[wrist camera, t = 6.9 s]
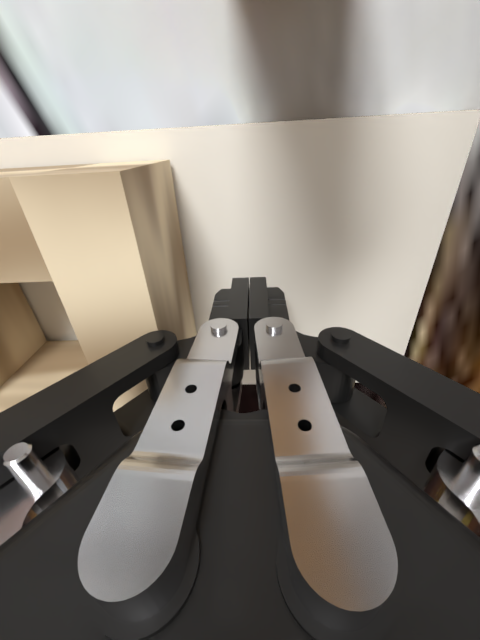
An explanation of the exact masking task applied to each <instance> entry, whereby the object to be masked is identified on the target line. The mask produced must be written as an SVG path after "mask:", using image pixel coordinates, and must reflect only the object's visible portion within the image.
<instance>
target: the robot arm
mask: <svg viewBox="0 0 480 640" xmlns="http://www.w3.org/2000/svg"><path fill="white" fill-rule="evenodd" d="M250 362H251V370H255V371H256V391H257V399H258V408H259V411H255V412H250V413H238V412H239V405H240V398H241V392H242V378H243V373H244V370H249V366H250ZM143 380H145V381H146V384H147V387H148V389H147V390H145V391H144V392H142V393H141V394H139V395H138V396H136V397H135V398H133V399H132V400H131V401H129V402H128V403H126V404H125V405H123V406H122V407H120V408H119V409H117V410H116V411H115V412H113V405H114V402H115V401H116V399H117V398H118V397H119V396H121V395H122V394H123V393H125V392H126V391H128V390H130V389H131V388H133V387H134V386H136V385H137V384H139V383H140V382H142V381H143ZM355 380H356V381H358V382H359V383H361V384H362V385H364V386H365V387H367V388H369V389H370V390H372V391H373V392H375V393H376V394H378V395H379V396H380V397H381V398H382V399H383V400H384V401H385V403H386V406H387V409H386V408H385V407H383V406H382V405H380V404H379V403H377V402H376V401H374V400H373V399H371V398H370V397H368V396H367V395H365V394H363V393H362V392H360V391H359V390H357V389H356V388H354V385H355ZM0 640H480V394H479V393H477V392H475V391H473V390H471V389H469V388H467V387H465V386H463V385H461V384H459V383H457V382H455V381H453V380H451V379H449V378H447V377H445V376H443V375H441V374H439V373H437V372H435V371H433V370H431V369H429V368H427V367H425V366H423V365H421V364H419V363H417V362H415V361H413V360H411V359H409V358H407V357H405V356H403V355H401V354H399V353H397V352H395V351H393V350H391V349H389V348H387V347H385V346H383V345H381V344H379V343H377V342H375V341H373V340H371V339H369V338H367V337H365V336H363V335H361V334H359V333H357V332H355V331H353V330H350V329H347V328H342V327H330V328H326V329H324V330H322V331H321V332H320V333H319V335H318V337H314V336H308V335H304V334H301V333H299V332H297V331H296V330H295V327H294V325H293V324H292V322H290V320H289V315H288V310H287V305H286V300H285V295H284V292H283V291H282V290H281V289H280V288H278V287H267V283H266V277H250V288H249V277H245V278H232V285H231V289H221V290H219V291H218V292H217V293H216V294H215V297H214V302H213V305H212V309H211V313H210V317H209V321H207V322H205V323H204V324H202V325H201V327H200V328H199V331H198V333H197V335H196V336H194V337H191V338H187V339H182V340H178V341H177V337H176V335H175V334H174V333H173V332H171V331H167V330H157V331H152V332H149V333H147V334H145V335H143V336H141V337H139V338H137V339H135V340H133V341H132V342H130V343H128V344H126V345H124V346H122V347H120V348H119V349H117V350H115V351H113V352H111V353H109V354H108V355H106V356H104V357H102V358H100V359H98V360H96V361H95V362H93V363H91V364H89V365H87V366H85V367H84V368H82V369H80V370H78V371H76V372H74V373H72V374H71V375H69V376H67V377H65V378H63V379H61V380H60V381H58V382H56V383H54V384H52V385H50V386H48V387H47V388H45V389H43V390H41V391H39V392H37V393H36V394H34V395H32V396H30V397H28V398H26V399H24V400H23V401H21V402H19V403H17V404H15V405H13V406H12V407H10V408H8V409H6V410H4V411H2V412H0Z"/></svg>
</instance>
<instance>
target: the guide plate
mask: <svg viewBox="0 0 480 640" xmlns="http://www.w3.org/2000/svg"><path fill="white" fill-rule="evenodd" d="M479 121H480V109H477V110H460V111H444V112H427V113H411V114H394V115H378V116H361V117H344V118H328V119H311V120H295V121H278V122H261V123H245V124H228V125H212V126H195V127H179V128H162V129H145V130H129V131H112V132H96V133H79V134H63V135H46V136H29V137H13V138H0V169H6V168H24V167H43V166H61V165H79V164H97V163H115V162H134V161H152V160H170V166H171V172H172V178H173V185H174V191H175V198H176V204H177V210H178V217H179V223H180V230H181V236H182V243H183V249H184V255H185V262H186V268H187V275H188V281H189V288H190V294H191V300H192V307H193V313H194V320H195V326H196V333H198V331H199V328H200V327H201V325H202V324H204V323H205V322H207V321H209V317H210V313H211V309H212V305H213V302H214V297H215V294H216V293H217V292H218V291H219V290H221V289H231V285H232V278H245V277H249V288H250V277H266V283H267V287H278V288H280V289H281V290H282V291H283V292H284V295H285V300H286V305H287V310H288V315H289V320H290V322H292V324H293V325H294V327H295V330H296V331H297V332H299V333H301V334H304V335H308V336H314V337H318V335H319V333H320V332H321V331H322V330H324V329H326V328H330V327H342V328H347V329H350V330H353V331H355V332H357V333H359V334H361V335H363V336H365V337H367V338H369V339H371V340H373V341H375V342H377V343H379V344H381V345H383V346H385V347H387V348H389V349H391V350H393V351H395V352H397V353H399V354H401V355H403V356H404V354H405V351H406V348H407V344H408V341H409V338H410V335H411V332H412V329H413V326H414V323H415V320H416V317H417V313H418V310H419V307H420V304H421V301H422V298H423V295H424V292H425V289H426V285H427V282H428V279H429V276H430V273H431V270H432V267H433V264H434V261H435V258H436V254H437V251H438V248H439V245H440V242H441V239H442V236H443V233H444V230H445V227H446V223H447V220H448V217H449V214H450V211H451V208H452V205H453V202H454V199H455V195H456V192H457V189H458V186H459V183H460V180H461V177H462V174H463V171H464V168H465V164H466V161H467V158H468V155H469V152H470V149H471V146H472V143H473V140H474V137H475V133H476V130H477V127H478V124H479ZM18 284H19V286H20V288H21V290H22V292H23V294H24V296H25V298H26V300H27V302H28V304H29V306H30V308H31V310H32V312H33V314H34V316H35V318H36V320H37V322H38V324H39V326H40V328H41V330H42V332H43V334H44V336H45V338H46V340H47V341H64V340H78V339H77V336H76V334H75V332H74V329H73V327H72V325H71V322H70V320H69V318H68V315H67V313H66V311H65V308H64V306H63V304H62V301H61V299H60V297H59V294H58V292H57V290H56V287H55V285H54V283H53V281H47V282H19V283H18ZM355 383H359V382H358V381H356V380H355ZM242 384H256V371H255V370H251V362H250V366H249V370H244V373H243V378H242Z"/></svg>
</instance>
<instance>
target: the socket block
mask: <svg viewBox="0 0 480 640" xmlns="http://www.w3.org/2000/svg"><path fill="white" fill-rule="evenodd" d="M47 281H53V283H54V285H55V287H56V290H57V292H58V294H59V297H60V299H61V301H62V304H63V306H64V308H65V311H66V313H67V315H68V318H69V320H70V322H71V325H72V327H73V329H74V332H75V334H76V336H77V339H78V340H64V341H47V340H46V338H45V336H44V334H43V332H42V330H41V328H40V326H39V324H38V322H37V320H36V318H35V316H34V314H33V312H32V310H31V308H30V306H29V304H28V302H27V300H26V298H25V296H24V294H23V292H22V290H21V288H20V286H19V284H18V283H19V282H47ZM157 330H167V331H171V332H173V333H174V334H175V335H176V337H177V341H178V340H182V339H187V338H191V337H194V336H196V335H197V333H196V326H195V320H194V313H193V307H192V300H191V294H190V288H189V281H188V275H187V268H186V262H185V255H184V249H183V243H182V236H181V230H180V223H179V217H178V210H177V204H176V198H175V191H174V185H173V178H172V172H171V166H170V160H152V161H134V162H115V163H97V164H79V165H61V166H43V167H24V168H6V169H0V412H2V411H4V410H6V409H8V408H10V407H12V406H13V405H15V404H17V403H19V402H21V401H23V400H24V399H26V398H28V397H30V396H32V395H34V394H36V393H37V392H39V391H41V390H43V389H45V388H47V387H48V386H50V385H52V384H54V383H56V382H58V381H60V380H61V379H63V378H65V377H67V376H69V375H71V374H72V373H74V372H76V371H78V370H80V369H82V368H84V367H85V366H87V365H89V364H91V363H93V362H95V361H96V360H98V359H100V358H102V357H104V356H106V355H108V354H109V353H111V352H113V351H115V350H117V349H119V348H120V347H122V346H124V345H126V344H128V343H130V342H132V341H133V340H135V339H137V338H139V337H141V336H143V335H145V334H147V333H149V332H152V331H157ZM147 389H148V387H147V384H146V381H145V380H143V381H142V382H140V383H139V384H137V385H136V386H134V387H133V388H131V389H130V390H128V391H126V392H125V393H123V394H122V395H121V396H119V397H118V398H117V399H116V401H115V402H114V405H113V412H115V411H116V410H117V409H119V408H120V407H122V406H123V405H125V404H126V403H128V402H129V401H131V400H132V399H133V398H135V397H136V396H138V395H139V394H141V393H142V392H144V391H145V390H147Z"/></svg>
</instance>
